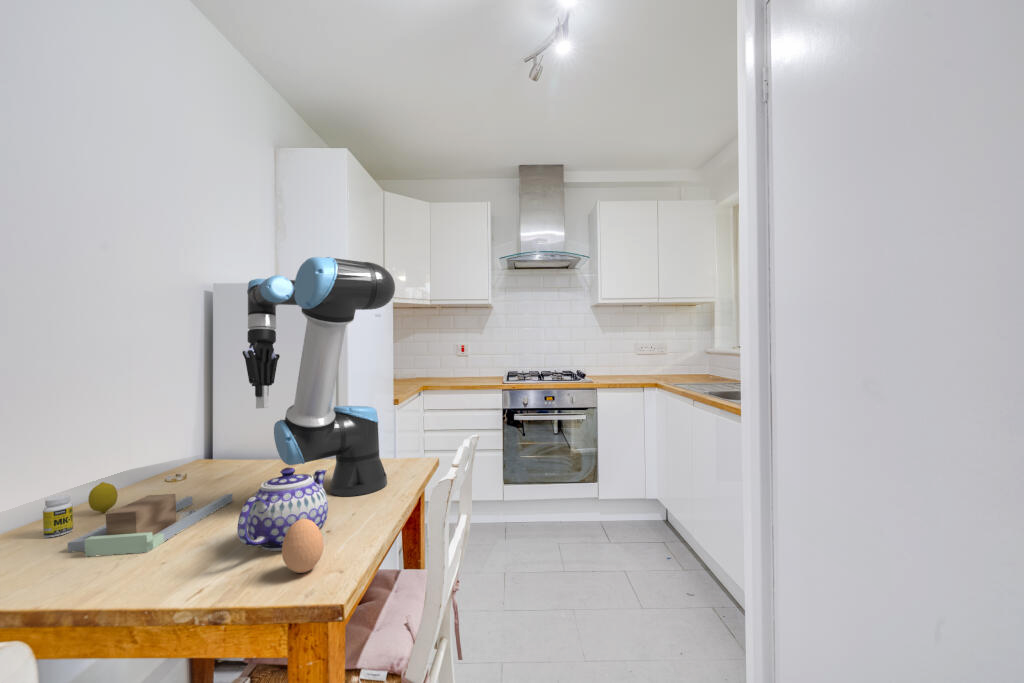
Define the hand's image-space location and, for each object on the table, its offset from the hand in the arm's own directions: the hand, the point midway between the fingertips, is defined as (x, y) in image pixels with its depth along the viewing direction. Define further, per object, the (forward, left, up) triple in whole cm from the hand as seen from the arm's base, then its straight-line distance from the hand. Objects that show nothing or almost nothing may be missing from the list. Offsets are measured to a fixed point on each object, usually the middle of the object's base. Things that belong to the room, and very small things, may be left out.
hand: (261, 407), depth 130 cm
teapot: (-43, +19, -24) cm, 53 cm away
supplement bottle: (+11, +41, -23) cm, 49 cm away
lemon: (+19, +31, -23) cm, 44 cm away
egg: (-59, +25, -23) cm, 68 cm away
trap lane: (-5, +28, -23) cm, 37 cm away
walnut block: (-12, +33, -23) cm, 42 cm away
